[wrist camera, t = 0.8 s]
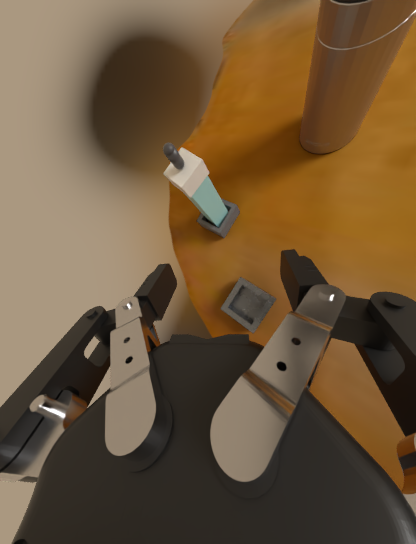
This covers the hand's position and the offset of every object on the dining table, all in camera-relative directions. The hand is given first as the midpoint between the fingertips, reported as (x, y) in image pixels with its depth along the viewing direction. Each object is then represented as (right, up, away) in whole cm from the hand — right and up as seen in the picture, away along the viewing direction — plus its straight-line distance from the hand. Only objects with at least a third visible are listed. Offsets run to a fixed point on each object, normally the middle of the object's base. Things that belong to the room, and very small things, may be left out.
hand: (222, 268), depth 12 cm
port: (+7, -6, +20) cm, 22 cm away
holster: (+2, +11, +24) cm, 27 cm away
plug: (+2, +11, +24) cm, 27 cm away
